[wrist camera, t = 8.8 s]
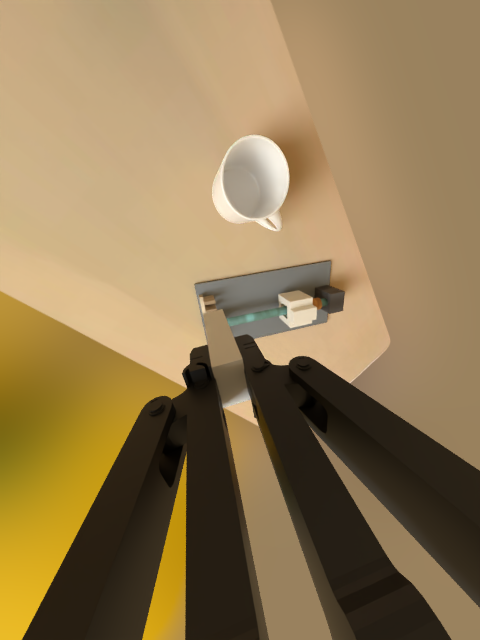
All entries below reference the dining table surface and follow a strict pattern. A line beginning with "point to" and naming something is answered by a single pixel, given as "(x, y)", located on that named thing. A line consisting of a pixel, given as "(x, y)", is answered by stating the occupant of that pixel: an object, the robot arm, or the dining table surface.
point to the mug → (252, 182)
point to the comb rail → (323, 299)
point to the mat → (265, 296)
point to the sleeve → (297, 308)
